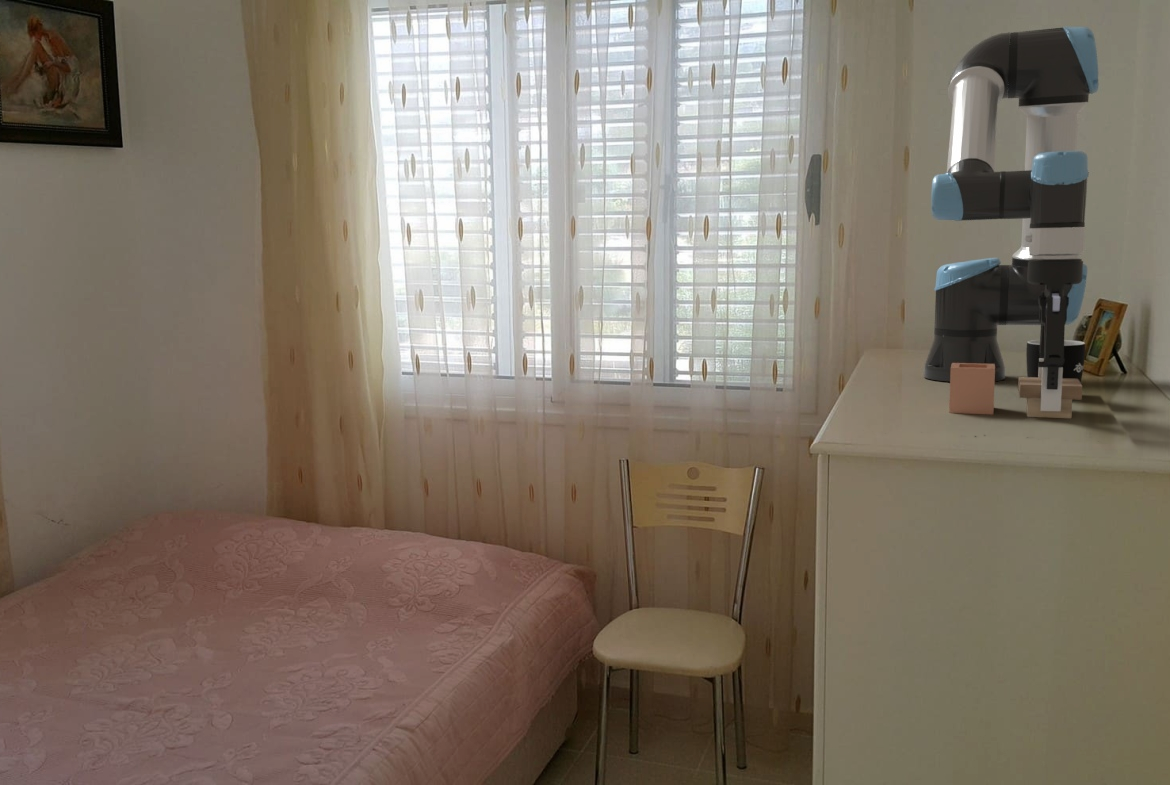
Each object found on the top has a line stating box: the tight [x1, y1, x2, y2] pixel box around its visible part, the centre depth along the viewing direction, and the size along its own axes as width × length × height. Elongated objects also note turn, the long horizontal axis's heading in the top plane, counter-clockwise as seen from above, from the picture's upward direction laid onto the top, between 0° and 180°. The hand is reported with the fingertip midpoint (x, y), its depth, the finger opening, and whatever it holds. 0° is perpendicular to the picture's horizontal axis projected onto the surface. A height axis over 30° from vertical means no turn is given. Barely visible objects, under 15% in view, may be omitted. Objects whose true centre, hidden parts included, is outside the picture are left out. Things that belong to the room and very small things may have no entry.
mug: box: [1025, 339, 1086, 384], centre depth 172 cm, size 12×9×10 cm
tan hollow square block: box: [948, 363, 996, 415], centre depth 160 cm, size 6×6×8 cm
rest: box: [1025, 398, 1073, 419], centre depth 155 cm, size 6×6×4 cm
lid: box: [1017, 376, 1083, 401], centre depth 155 cm, size 8×8×2 cm
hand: (1048, 405), depth 155 cm, fingers open, 10 cm apart
